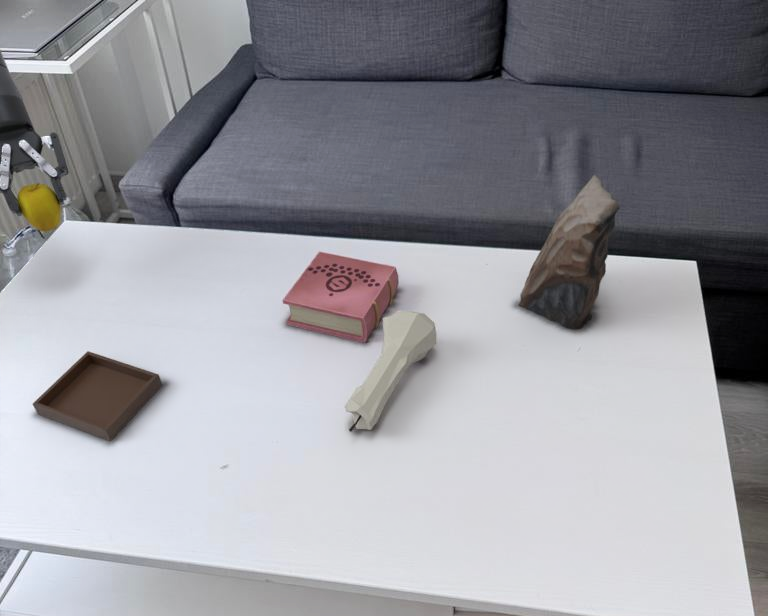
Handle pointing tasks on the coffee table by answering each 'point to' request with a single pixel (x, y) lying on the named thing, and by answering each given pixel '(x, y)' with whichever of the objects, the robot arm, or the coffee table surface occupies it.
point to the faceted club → (391, 364)
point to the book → (341, 296)
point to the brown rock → (573, 259)
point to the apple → (40, 206)
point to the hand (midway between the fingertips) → (41, 208)
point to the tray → (98, 395)
